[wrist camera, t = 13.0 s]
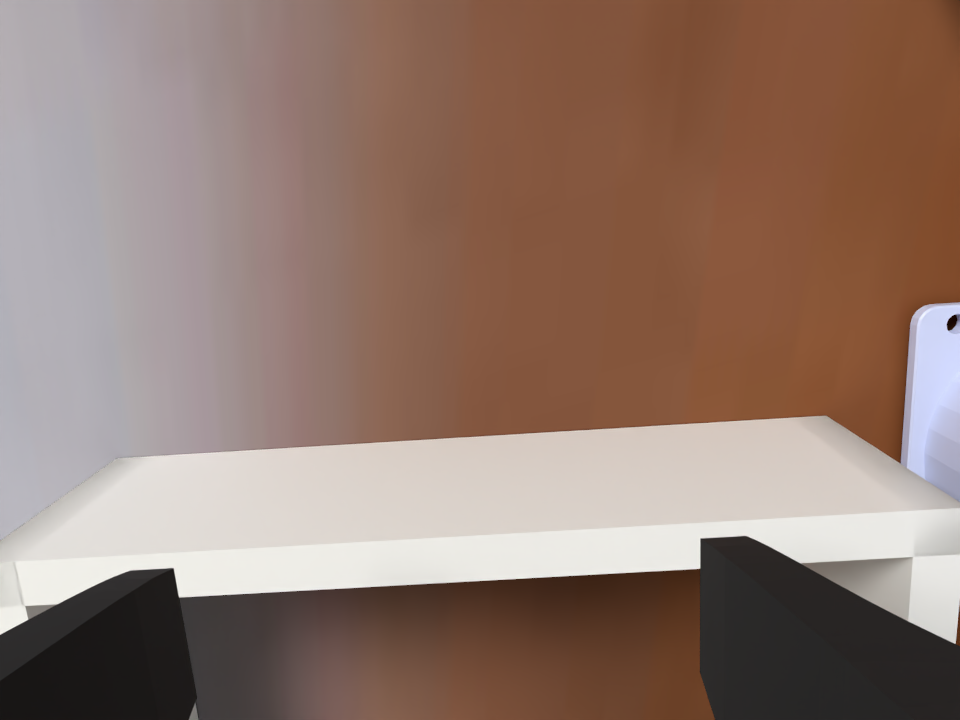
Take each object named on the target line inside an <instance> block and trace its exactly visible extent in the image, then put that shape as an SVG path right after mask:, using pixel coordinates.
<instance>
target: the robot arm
mask: <svg viewBox="0 0 960 720" xmlns="http://www.w3.org/2000/svg"><path fill="white" fill-rule="evenodd" d="M952 315H956V316H957V320H958V321H957V324H956V326H955V327H954V328H953V329H952V330H949V331H948V330H947V322H948V319H949V318H950V317H951V316H952ZM901 464H902V465H903V466H905V467H906V468H908V469H909V470H911V471H912V472H914V473H916V474H917V475H919V476H920V477H922V478H923V479H925V480H926V481H928V482H929V483H931V484H933V485H934V486H936V487H937V488H939V489H940V490H942V491H943V492H945V493H946V494H948V495H950V496H951V497H953V498H954V499H956V500H957V501H959V502H960V302H959V303H943V304H930V305H926V306H923V307H921V308H920V309H918V310H917V311H916V313H915V314H914V315H913V317H912V320H911V324H910V337H909V351H908V366H907V380H906V395H905V409H904V424H903V438H902V453H901ZM700 673H701V676H702V680H703V683H704V686H705V689H706V692H707V695H708V699H709V702H710V705H711V708H712V711H713V714H714V717H715V720H960V646H958V645H956V644H954V643H952V642H950V641H948V640H946V639H944V638H942V637H940V636H938V635H935V634H933V633H931V632H929V631H927V630H925V629H923V628H921V627H919V626H917V625H915V624H913V623H911V622H908V621H907V620H905V619H903V618H901V617H899V616H897V615H895V614H893V613H891V612H889V611H887V610H885V609H883V608H881V607H879V606H877V605H875V604H874V603H872V602H870V601H868V600H866V599H864V598H862V597H860V596H859V595H857V594H855V593H853V592H851V591H849V590H847V589H846V588H844V587H842V586H840V585H838V584H836V583H835V582H833V581H831V580H829V579H827V578H826V577H824V576H822V575H820V574H818V573H817V572H815V571H813V570H811V569H809V568H808V567H806V566H804V565H802V564H800V563H799V562H797V561H795V560H793V559H791V558H790V557H788V556H786V555H784V554H782V553H780V552H779V551H777V550H775V549H773V548H771V547H769V546H767V545H765V544H763V543H761V542H759V541H757V540H755V539H752V538H750V537H748V536H735V537H717V538H700ZM196 699H197V696H196V690H195V684H194V679H193V673H192V668H191V662H190V656H189V651H188V645H187V640H186V634H185V628H184V623H183V617H182V612H181V606H180V600H179V595H178V589H177V584H176V578H175V572H174V568H166V569H148V570H130V571H128V572H125V573H122V574H120V575H117V576H114V577H112V578H110V579H107V580H105V581H103V582H101V583H99V584H97V585H95V586H93V587H90V588H88V589H86V590H84V591H82V592H80V593H78V594H76V595H75V596H73V597H71V598H69V599H67V600H65V601H63V602H61V603H59V604H57V605H55V606H53V607H51V608H50V609H48V610H46V611H44V612H42V613H40V614H38V615H36V616H34V617H32V618H31V619H29V620H27V621H25V622H23V623H21V624H19V625H17V626H15V627H14V628H12V629H10V630H8V631H6V632H4V633H2V634H0V720H189V718H190V715H191V713H192V710H193V707H194V704H195V702H196Z"/></svg>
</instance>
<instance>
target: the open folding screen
mask: <svg viewBox="0 0 960 720" xmlns="http://www.w3.org/2000/svg"><path fill="white" fill-rule="evenodd" d="M735 536H748V537H750V538H752V539H755V540H757V541H759V542H761V543H763V544H765V545H767V546H769V547H771V548H773V549H775V550H777V551H779V552H780V553H782V554H784V555H786V556H788V557H790V558H791V559H793V560H795V561H797V562H799V563H800V564H802V565H804V566H806V567H808V568H809V569H811V570H813V571H815V572H817V573H818V574H820V575H822V576H824V577H826V578H827V579H829V580H831V581H833V582H835V583H836V584H838V585H840V586H842V587H844V588H846V589H847V590H849V591H851V592H853V593H855V594H857V595H859V596H860V597H862V598H864V599H866V600H868V601H870V602H872V603H874V604H875V605H877V606H879V607H881V608H883V609H885V610H887V611H889V612H891V613H893V614H895V615H897V616H899V617H901V618H903V619H905V620H907V621H908V622H911V623H913V624H915V625H917V626H919V627H921V628H923V629H925V630H927V631H929V632H931V633H933V634H935V635H938V636H940V637H942V638H944V639H946V640H948V641H950V642H952V643H954V644H956V635H957V624H958V613H959V602H960V502H959V501H957V500H956V499H954V498H953V497H951V496H950V495H948V494H946V493H945V492H943V491H942V490H940V489H939V488H937V487H936V486H934V485H933V484H931V483H929V482H928V481H926V480H925V479H923V478H922V477H920V476H919V475H917V474H916V473H914V472H912V471H911V470H909V469H908V468H906V467H905V466H903V465H902V464H900V463H899V462H897V461H895V460H894V459H892V458H891V457H889V456H888V455H886V454H885V453H883V452H881V451H880V450H878V449H877V448H875V447H874V446H872V445H871V444H869V443H868V442H866V441H864V440H863V439H861V438H860V437H858V436H857V435H855V434H854V433H852V432H851V431H849V430H847V429H846V428H844V427H843V426H841V425H840V424H838V423H837V422H835V421H834V420H832V419H830V418H829V417H827V416H813V417H796V418H780V419H763V420H746V421H730V422H713V423H696V424H680V425H663V426H647V427H630V428H613V429H597V430H580V431H563V432H547V433H530V434H514V435H497V436H480V437H464V438H447V439H430V440H414V441H397V442H380V443H364V444H347V445H331V446H314V447H297V448H281V449H264V450H247V451H231V452H214V453H198V454H181V455H164V456H148V457H131V458H116V459H115V460H114V461H112V462H111V463H109V464H108V465H106V466H105V467H104V468H102V469H101V470H99V471H98V472H97V473H95V474H94V475H92V476H91V477H89V478H88V479H87V480H85V481H84V482H82V483H81V484H80V485H78V486H77V487H75V488H74V489H73V490H71V491H70V492H68V493H67V494H65V495H64V496H63V497H61V498H60V499H58V500H57V501H56V502H54V503H53V504H51V505H50V506H48V507H47V508H46V509H44V510H43V511H41V512H40V513H39V514H37V515H36V516H34V517H33V518H31V519H30V520H29V521H27V522H26V523H24V524H23V525H22V526H20V527H19V528H17V529H16V530H14V531H13V532H12V533H10V534H9V535H7V536H6V537H5V538H3V539H2V540H0V634H2V633H4V632H6V631H8V630H10V629H12V628H14V627H15V626H17V625H19V624H21V623H23V622H25V621H27V620H29V619H31V618H32V617H34V616H36V615H38V614H40V613H42V612H44V611H46V610H48V609H50V608H51V607H53V606H55V605H57V604H59V603H61V602H63V601H65V600H67V599H69V598H71V597H73V596H75V595H76V594H78V593H80V592H82V591H84V590H86V589H88V588H90V587H93V586H95V585H97V584H99V583H101V582H103V581H105V580H107V579H110V578H112V577H114V576H117V575H120V574H122V573H125V572H128V571H130V570H148V569H166V568H174V572H175V578H176V584H177V589H178V595H179V597H197V596H216V595H234V594H252V593H270V592H288V591H306V590H324V589H343V588H361V587H379V586H397V585H415V584H433V583H451V582H469V581H488V580H506V579H524V578H542V577H560V576H578V575H596V574H614V573H633V572H651V571H669V570H687V569H700V538H717V537H735ZM189 720H198V714H197V709H196V703H195V704H194V707H193V710H192V713H191V715H190V718H189Z"/></svg>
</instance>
